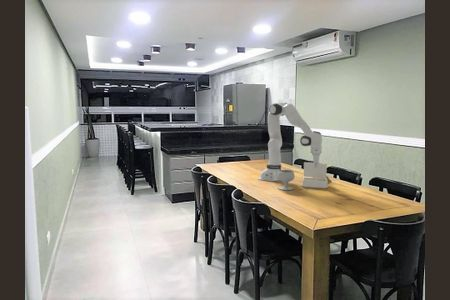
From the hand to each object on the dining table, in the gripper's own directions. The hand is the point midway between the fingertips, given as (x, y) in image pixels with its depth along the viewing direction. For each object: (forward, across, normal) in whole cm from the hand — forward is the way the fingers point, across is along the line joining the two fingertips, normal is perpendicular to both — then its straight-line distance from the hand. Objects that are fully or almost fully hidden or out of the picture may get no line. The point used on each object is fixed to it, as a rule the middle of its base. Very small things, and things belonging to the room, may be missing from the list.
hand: (315, 167), depth 275 cm
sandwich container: (+17, -30, +7) cm, 35 cm away
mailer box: (+17, -4, 0) cm, 17 cm away
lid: (+4, -8, 0) cm, 9 cm away
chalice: (+17, +13, -24) cm, 32 cm away
